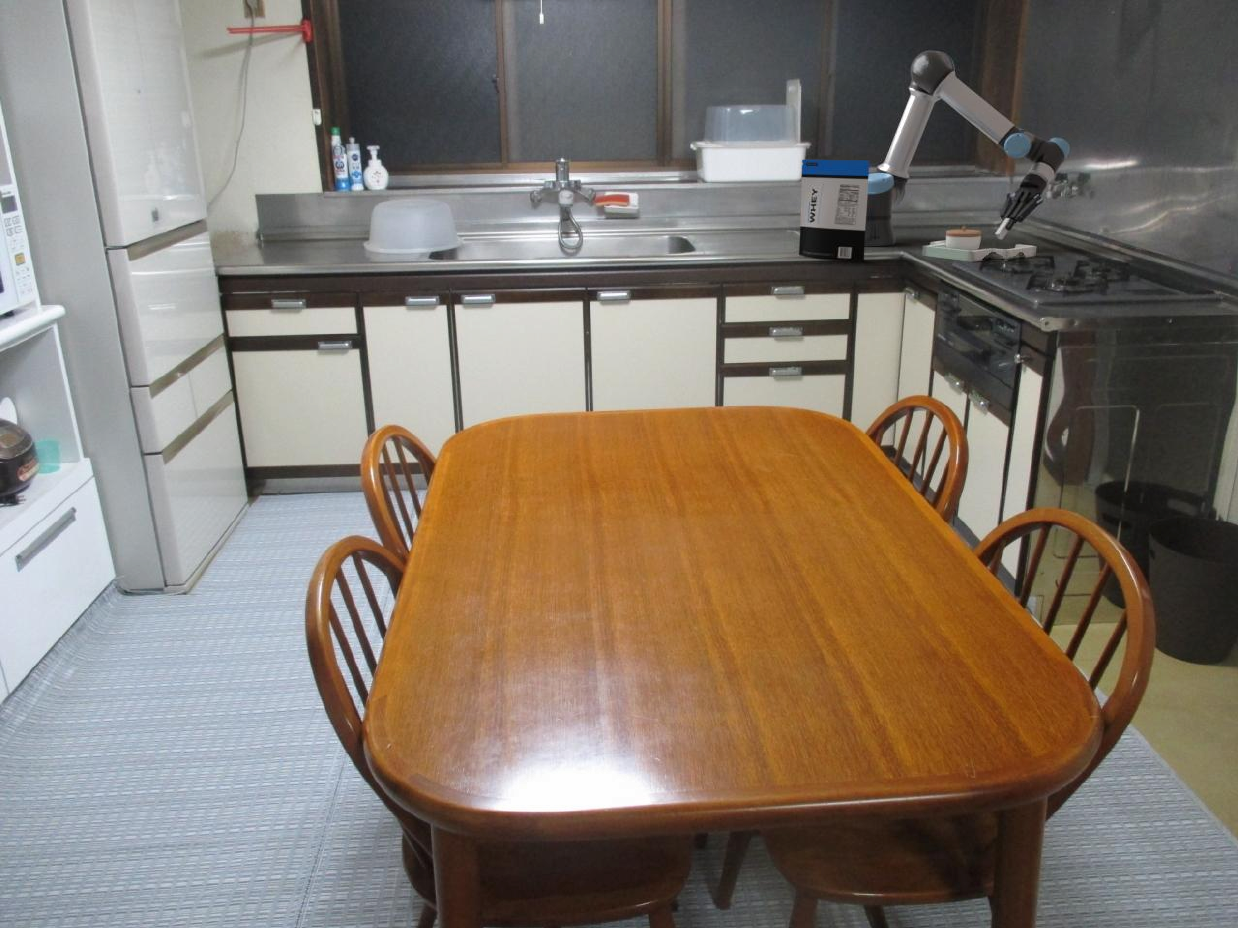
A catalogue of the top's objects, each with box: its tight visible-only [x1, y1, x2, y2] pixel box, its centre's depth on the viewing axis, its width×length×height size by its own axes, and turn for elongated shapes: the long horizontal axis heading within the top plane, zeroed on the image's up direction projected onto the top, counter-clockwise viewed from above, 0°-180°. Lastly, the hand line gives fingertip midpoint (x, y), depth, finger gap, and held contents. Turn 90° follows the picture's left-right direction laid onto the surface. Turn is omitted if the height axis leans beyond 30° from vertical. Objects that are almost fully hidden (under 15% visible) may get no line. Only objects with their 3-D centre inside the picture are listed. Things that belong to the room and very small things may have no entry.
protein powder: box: [798, 159, 870, 262], centre depth 322 cm, size 10×24×30 cm, turn 46°
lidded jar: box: [945, 225, 983, 251], centre depth 321 cm, size 11×11×9 cm
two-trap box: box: [921, 239, 1037, 263], centre depth 325 cm, size 29×24×3 cm
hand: (998, 236), depth 330 cm, fingers closed
